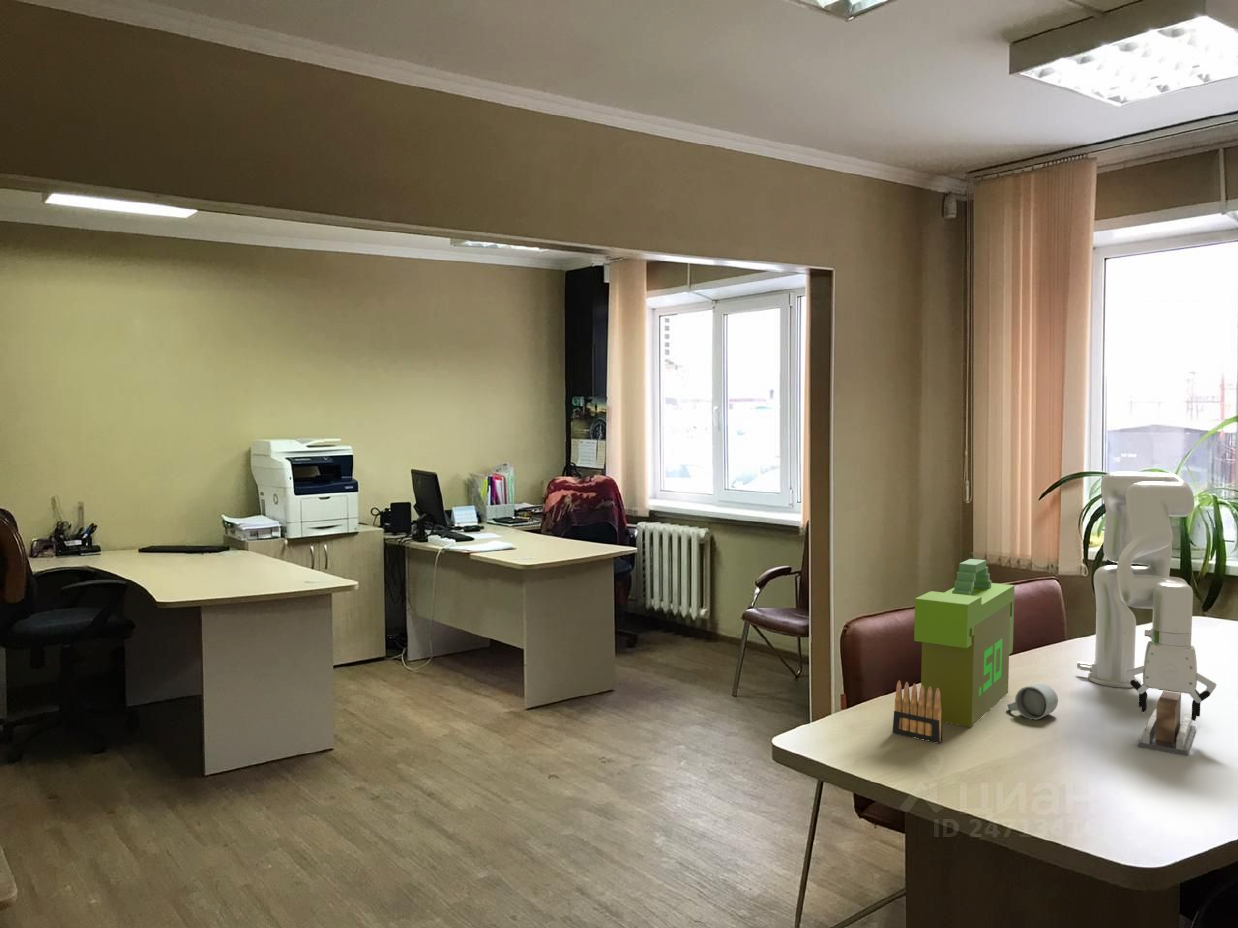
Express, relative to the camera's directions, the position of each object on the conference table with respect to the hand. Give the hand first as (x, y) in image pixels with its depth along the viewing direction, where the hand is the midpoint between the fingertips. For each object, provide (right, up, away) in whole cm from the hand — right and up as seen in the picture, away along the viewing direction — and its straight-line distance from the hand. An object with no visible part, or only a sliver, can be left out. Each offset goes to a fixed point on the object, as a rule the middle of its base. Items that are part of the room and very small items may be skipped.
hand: (1168, 714), depth 209 cm
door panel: (0, -4, 0) cm, 4 cm away
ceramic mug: (-23, -5, +17) cm, 29 cm away
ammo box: (-36, -4, +24) cm, 44 cm away
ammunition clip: (-56, -5, 0) cm, 56 cm away
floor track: (0, -5, 0) cm, 5 cm away
